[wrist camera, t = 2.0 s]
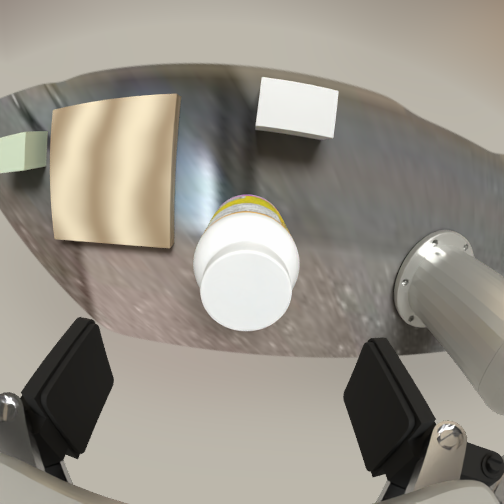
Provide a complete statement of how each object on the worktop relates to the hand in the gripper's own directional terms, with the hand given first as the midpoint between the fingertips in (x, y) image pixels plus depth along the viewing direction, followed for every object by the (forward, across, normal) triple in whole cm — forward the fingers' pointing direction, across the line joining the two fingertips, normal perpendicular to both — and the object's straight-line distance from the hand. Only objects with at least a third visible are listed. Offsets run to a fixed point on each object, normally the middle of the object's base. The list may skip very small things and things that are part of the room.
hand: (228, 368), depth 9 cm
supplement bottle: (+18, -1, 0) cm, 18 cm away
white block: (+18, -4, -11) cm, 22 cm away
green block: (+19, +25, -8) cm, 32 cm away
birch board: (+18, +13, -5) cm, 23 cm away
